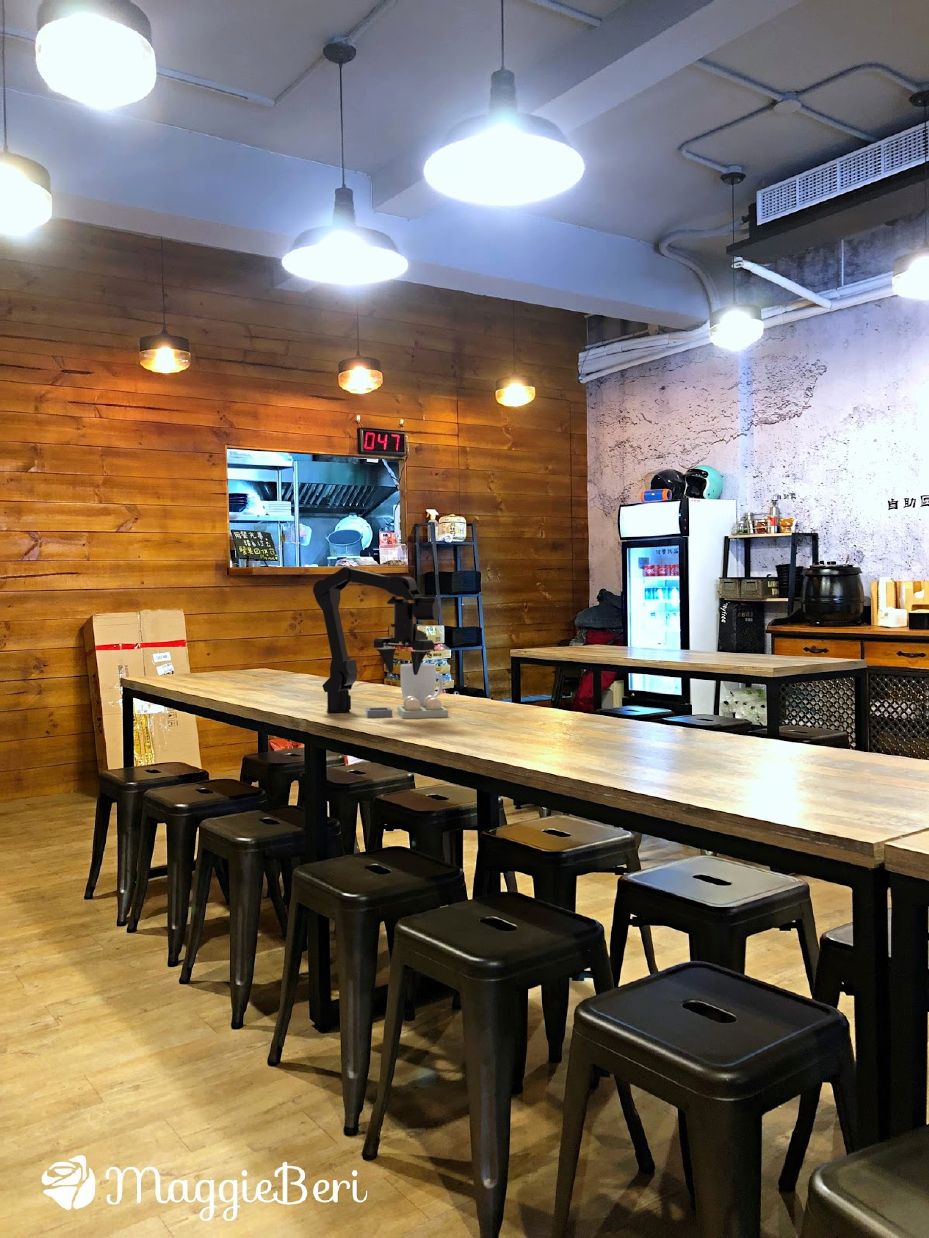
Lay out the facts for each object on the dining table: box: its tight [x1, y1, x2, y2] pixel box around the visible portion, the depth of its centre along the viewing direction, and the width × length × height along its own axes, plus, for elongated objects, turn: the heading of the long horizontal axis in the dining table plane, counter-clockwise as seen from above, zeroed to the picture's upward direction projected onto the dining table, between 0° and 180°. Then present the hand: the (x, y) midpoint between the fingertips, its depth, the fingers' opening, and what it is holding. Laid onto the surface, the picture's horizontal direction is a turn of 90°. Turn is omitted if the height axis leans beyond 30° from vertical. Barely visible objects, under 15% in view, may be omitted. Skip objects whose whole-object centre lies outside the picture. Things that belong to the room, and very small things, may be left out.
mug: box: [399, 662, 444, 705], centre depth 295 cm, size 15×11×13 cm
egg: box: [406, 698, 421, 711], centre depth 271 cm, size 4×4×4 cm
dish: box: [365, 706, 393, 718], centre depth 273 cm, size 7×7×2 cm
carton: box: [396, 695, 449, 719], centre depth 275 cm, size 13×13×5 cm
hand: (403, 673), depth 276 cm, fingers open, 9 cm apart
